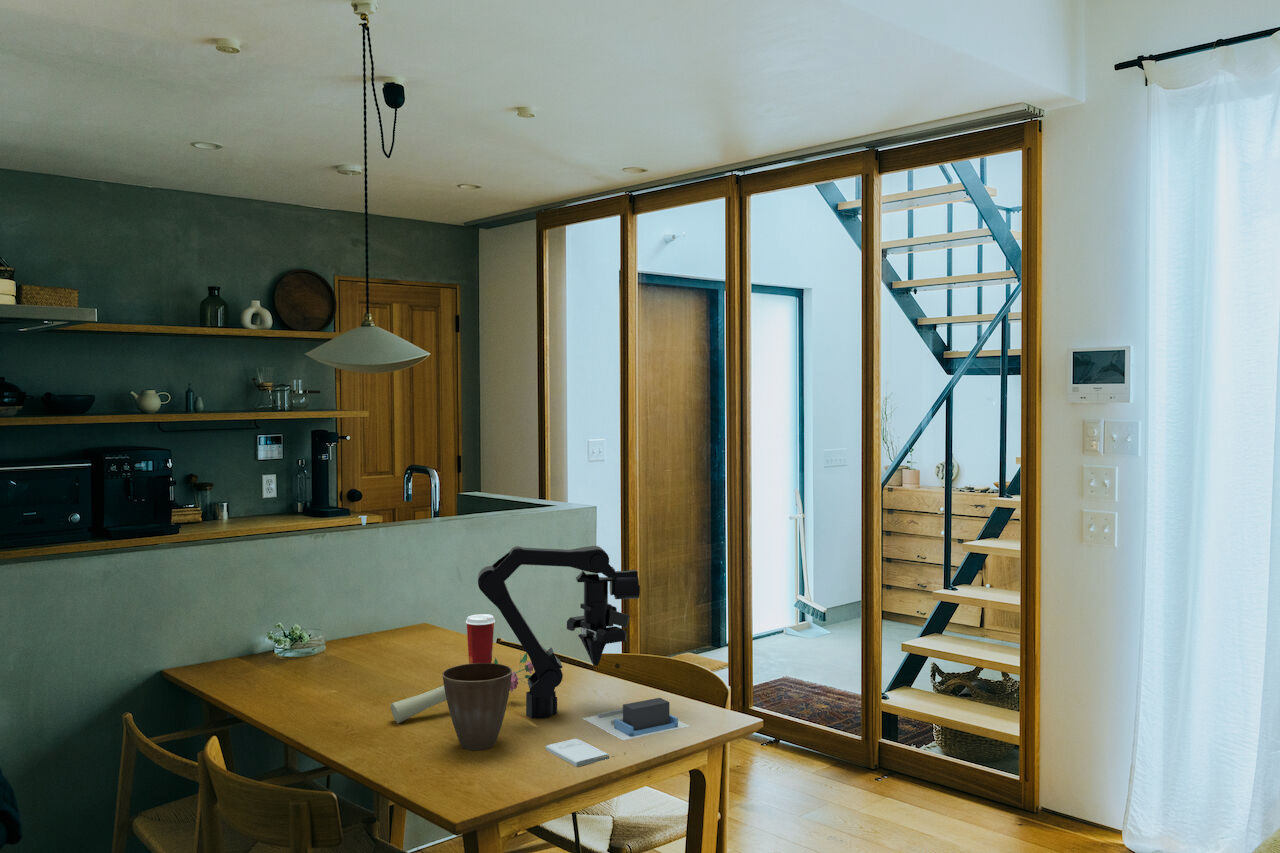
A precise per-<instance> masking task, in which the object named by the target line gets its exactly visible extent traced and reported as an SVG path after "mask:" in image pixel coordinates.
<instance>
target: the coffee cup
mask: <svg viewBox="0 0 1280 853" xmlns="http://www.w3.org/2000/svg"><path fill="white" fill-rule="evenodd" d="M495 623H496V620H495V617H494V616H493V615H492V614H486V613H485V614H484V613H478V614H472V615H469V616H467V618H466V620H465V624H466V632H467V633H466V634H467V635H466V637H467V653H468V655H467V656H468V664H472V663H493V662H492V660H493V649H494V631H495V630H494V629H495Z"/></svg>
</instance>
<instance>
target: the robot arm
mask: <svg viewBox="0 0 1280 853" xmlns="http://www.w3.org/2000/svg"><path fill="white" fill-rule="evenodd" d="M525 565H527V566H544V567H545V566H546V567H548V566H549V567H568V568H573V569H577V570H580V571H581V572H580V573H579V575H577V576H576V577H575V581H576V582H577V583H583V602H582V603H580V609H581V610H582V609H583V615H580V616H571V617H570V616H569V618H568V619H567V621H566V630H568V631H571V632H574V631H575V630H576V629H577V628H578V629H579V628H580V634H578V638H579V639H580V640H581V641H580V642H581V643H582V644H583V647H584V649H585V650H586V652H587V654H588V657H589V659H590V662H591V664H592V666H599V665H600V662H601V658H602V655H603V652H604V651H605V650H604V649H605V648H606V645H608V644H613V643H614V644H615V643H616V644H617V643H622V642H626V641H627V632H626V631H625V630H624V629H626V628H627V627H628V624H629V620H630V615H629V614H626V613H623V612H620V611H617V606H614V605H612V604H610V603H609V600H608V599H609V597H608V596H609V595H610V596H613V597H614V599H615V600H637V599H640V593H641V585H640V581H639V576H638V575H639V572H638V571H637V569H630V570H615V568H614V567H613V566H611V565H610V557H609V555H608V553H607V552H606V551H605V550H604V549H603V548H602V547H600V546H599V545H591V546H583V547H577V548H572V549H571V548H570V549H561V548H558V549H557V548H540V547H539V548H538V547H537V548H536V547H523V546H518V545H517V546H516V545H515V546H514V547H511V548H510V550H509V551H508V552H507V553H505V554H504V555H502V556H501V557H500V558H499V559H498V560H497V561H495V562H494V563H493V564H492V565H489V566H485V567H483V568H481V569H480V571H479V572H478V574H477V585H478V588H479V591H481V592H482V593H483V595H484V596H485V597H487V599H488V600H489V601H490V602H491V603H492V604H493V605H494V606H495V607H496V608H498V610H499V612H500V614H501V615H502V617H503V618H504V619H505V621H506V622H507V624H508V626H509V627H510V629H511V630H512V632H513V633H514V635H515V637H516V639H517V640H518V642H519V643H520V645H521V646H522V648H523V650H524V651H525V653H526V652H527V657H528V658H529V659H530V662H531V663H532V665H533V673H531V675H530V677H529V678H527V683H528V684H529V685H528V684H527V685H528V688H529V691H526V692H525V697H526V698H525V699H526V700H525V712H526V713H525V715H526V716H527V717H528V718H529V719H531V720H535V719H536V720H537V719H539V720H542V719H549V718H551V717H553V716H555V715H557V714H558V697H557V695H556V694H557V693H556V687H557V688H558V686H559V685H560V684H561V683H562V681H563V677H564V674H563V672H562V669H563V665H562V661H561V659H559V658H558V657H557V656H556V655H555V652H554V650H553V647H550V648H549V649H546V648H545V647H543V645H542V644H541V643H540V641H539V639H538V638H537V636H536V634H535V633H534V632H533V630H532V628H531V627H530V625H529V624H528V623H527V620H526V619H525V617H524V615H523V614H522V613H521V611H520V609H519V608H518V606H517V605H516V604H515V601H514V600H513V598H512V597H511V594H510V592H509V589H508V587H507V584H506V581H507V580H508V579H509V578H510V577H511V576H512V575H513V573H514V572H515V571H517V569H519V567H520V566H525ZM586 572H588V573H586ZM599 574H602V575H603V576H604V577H603V576H599ZM608 594H609V595H608ZM621 627H622V628H621Z"/></svg>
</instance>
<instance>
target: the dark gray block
mask: <svg viewBox="0 0 1280 853" xmlns="http://www.w3.org/2000/svg"><path fill="white" fill-rule="evenodd" d="M622 709H623V722H624V723H626V724H628V725H630V726H632V727H633V731H636V730H641V729H646V728H651V727H656V726H660V725H665V724H669V714H670V701H668V700H665V699H663V698H661V697H656V698H651V699H647V700H641V701H639V700H638V701H636V702H634V701H633V702H629V703H624V704H622Z"/></svg>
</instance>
